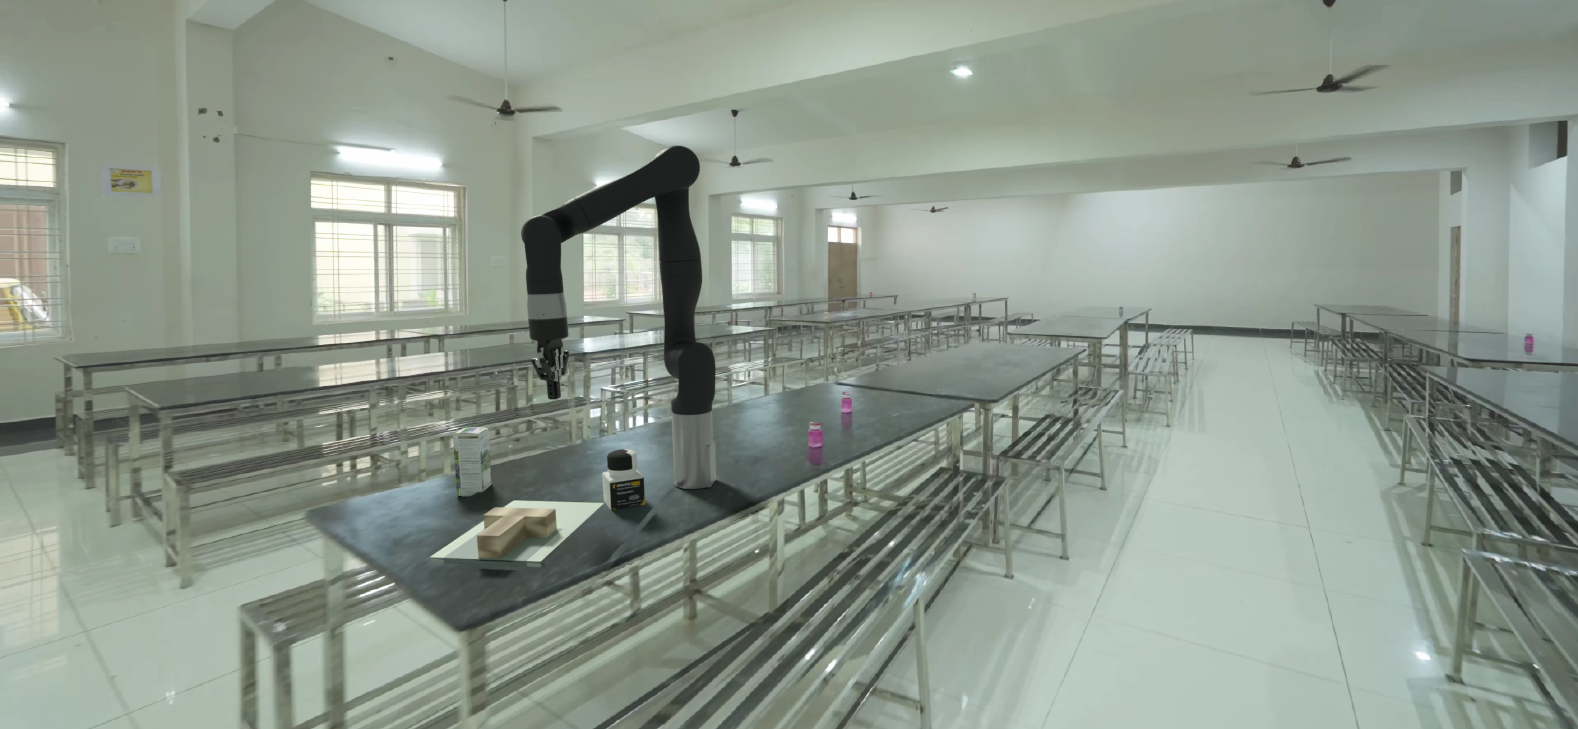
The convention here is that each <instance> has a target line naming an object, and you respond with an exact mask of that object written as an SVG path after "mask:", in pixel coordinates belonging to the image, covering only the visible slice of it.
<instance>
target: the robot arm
mask: <svg viewBox="0 0 1578 729" xmlns="http://www.w3.org/2000/svg"><path fill="white" fill-rule="evenodd" d="M700 171H701V166H700V160H699V158H698V156H697V155H696V153H695V152H694V151H693V150H691V149H690V148H689V147H686V146H683V145H671V146H667V147H665V148H664V149H662V150H660V151H659V152H658V153H657V154H655V156H654V157H653V159H652V160H650V162H648V163H646V164H645V165H643V166H642V167H640V168H638V169H636V170H634V171H633V172H630V173H629V174H626V175H623V176H622V177H619V178H617V179H613V180H612V181H610V182H607V183H604V184H602V185H599V186H597V187H595V188H593V189H590V190H588V191H586V192H584V193H581V194H579V195H577V196H575V197H574V198H571V199H568V201H566V202H564V203H562V205H560V206H558V207H556V208H553V209H551V210H549V211H546V212H544V213H541V214H539V215H535V216H532V217H530V218H528V219H527V220H526V221H525V222H524V223H523V225H522V228H521V230H520V237H521V240H522V242H523V245H524V251H525V252H524V253H525V261H526V269H525V283H526V293H527V299H526V300H527V302H526V308H527V309H526V312H527V319H528V332H529V339H531V341H536V342H537V344H536V345H537V347H536V352H537V353H536V354H537V355H536V357H534V358H532V359H531V364H532V366H533V368H534V369H535V372H536V374H537V375H538V378H539V379H540V381H544V382H545V383H546V390H547V392H546V393H547V398H548V400H558V399H560V398H561V397H562V393H561V392H562V391H561V390H562V389H561V381H562V377H563V376H565V374H566V370H567V364H568V361H569V356H570V351H569V350H565V349H564V343H563V339H567V338H568V337H569V325H568V324H569V323H568V312H567V303H566V297H565V294H564V292H565V291H564V281H563V279H564V278H563V273H562V272H563V271H562V244H563V243H564V242H566V241H568V240H570V239H572V238H574V237H575V236H578V235H581V234H583V233H587V232H589V231H591V230H593V229H596V228H597V227H600V226H601V225H603V224H605V223H607V222H609V221H611V220H613V219H614V218H617V217H618V216H620V215H622V214H624V213H625V212H627V211H629V210H630V209H633V208H634V207H636V206H638V205H640V204H642V203H644V202H646V201H648V200H650V199H653V198H654V200H655V206H656V213H657V239H658V240H657V241H658V261H659V273H660V275H659V276H660V281H661V282H660V283H661V294H662V308H663V319H664V323H663V324H664V336H663V337H664V338H663V363H664V367H665V369H666V371H667V373H668V374H669V375H670V376H672V377H673V378H675V379H677V380H678V386H677V387H678V392H677V395H676V396H675V397H673V398H672V399H671V403H670V404H671V409H670V410H671V431H672V432H671V434H672V438H671V439H672V456H673V457H672V459H673V460H672V461H673V482H674V483H673V484H674V486H675V487H677V488H680V489H684V490H697V489H704V488H711V487H712V486H713V484H714V483H715V482H716V480H717V462H716V459H717V458H716V454H717V453H716V440H715V439H714V433H713V432H714V431H713V403H714V399H715V396H716V371H717V370H716V369H717V368H716V358H715V354H714V352H713V350H712V349H711V348H710V346H708V344H705V343H703V342H699V341H697V340H696V339H697V338H696V331H695V312H696V307H697V304H698V300H699V298H700V295H701V291H702V284H703V266H702V256H701V255H702V254H701V249H700V246H699V241H698V239H697V235H696V232H695V229H694V225H693V224H692V223H693V222H692V219H691V214H690V198H689V197H690V195H689V194H690V187H691V186H693V185H694V184H695V182H696V181H697V180H698V177H699V175H700Z"/></svg>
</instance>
